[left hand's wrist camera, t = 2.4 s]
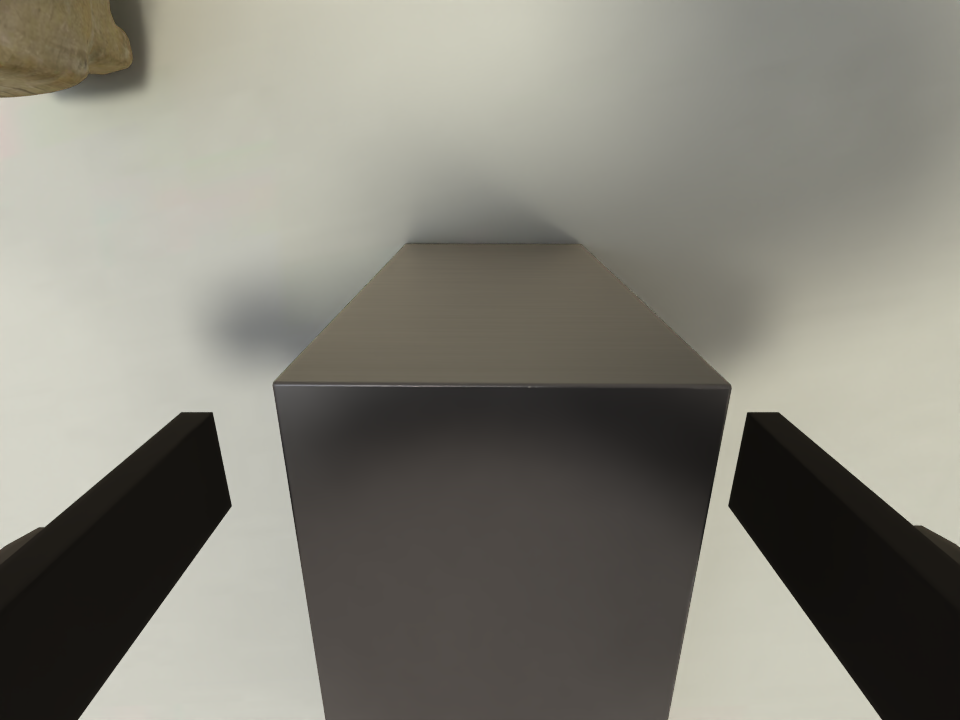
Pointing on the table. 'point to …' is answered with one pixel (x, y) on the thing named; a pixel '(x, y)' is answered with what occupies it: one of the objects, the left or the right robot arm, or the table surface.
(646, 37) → the table surface
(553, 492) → the box
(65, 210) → the table surface
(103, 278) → the table surface
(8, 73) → the sculpture
